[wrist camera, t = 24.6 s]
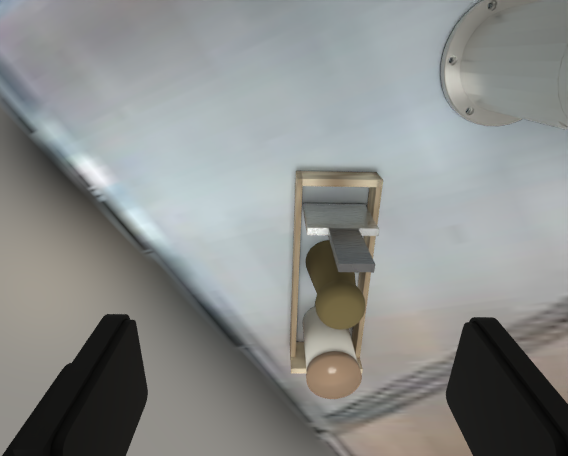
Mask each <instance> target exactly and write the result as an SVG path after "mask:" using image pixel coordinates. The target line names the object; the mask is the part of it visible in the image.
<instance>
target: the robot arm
mask: <svg viewBox="0 0 568 456" xmlns="http://www.w3.org/2000/svg"><path fill="white" fill-rule="evenodd" d="M488 4H490V8H489V9H488ZM449 58H451V59H452V61H451V62H450V63H449ZM441 83H442V89H443V92H444V94H445V97H446V99H447V101H448V103H449V104H450V106H451V107H452V109H453V110H454V111H455V112H456V113H457V114H458V115H460V116H461V117H463V118H464V119H466V120H468V121H470V122H473V123H476V124H480V125H484V126H502V125H508V124H512V123H514V122H517V121H520V120H522V119H525V120H529V121H533V122H537V123H542V124H546V125H550V126H554V127H558V128H562V129H566V130H568V0H482V1H480V2H479V3H477V4H476V5H475V6H474V7H472V8H471V9H470V10H469V11H468V12H467V13H466V14H465V15H464V16H463V17H462V19H461V20H460V21H459V22H458V24H457V25H456V26H455V28H454V30H453V31H452V33H451V35H450V37H449V39H448V41H447V44H446V46H445V49H444V52H443V57H442V62H441ZM467 108H468V111H467V112H466V109H467ZM147 395H148V390H147V383H146V378H145V372H144V366H143V360H142V355H141V349H140V343H139V337H138V332H137V326H136V322H135V320H130V318H129V316H128V315H126V314H107V315H105V316H104V317H103V318H102V319H101V321H100V322H99V324H98V325H97V327H96V328H95V330H94V331H93V333H92V334H91V336H90V337H89V338H88V340H87V341H86V343H85V344H84V346H83V347H82V349H81V350H80V352H79V353H78V355H77V356H76V358H75V359H74V361H73V362H72V363H69V364H68V365H66V366H65V367H64V368H63V369H62V371H61V372H60V373H59V375H58V376H57V378H56V379H55V381H54V382H53V384H52V385H51V386H50V388H49V389H48V391H47V392H46V393H45V395H44V397H43V398H42V399H41V401H40V402H39V404H38V405H37V406H36V408H35V409H34V411H33V412H32V414H31V415H30V417H29V418H28V419H27V421H26V422H25V424H24V425H23V426H22V428H21V429H20V431H19V432H18V434H17V435H16V436H15V438H14V439H13V441H12V442H11V444H10V445H9V447H8V448H7V450H6V451H5V452H4V454H3V455H2V456H126V453H127V451H128V448H129V446H130V443H131V440H132V438H133V435H134V433H135V430H136V427H137V425H138V422H139V420H140V417H141V415H142V412H143V409H144V407H145V404H146V401H147ZM446 399H447V403H448V405H449V407H450V409H451V411H452V414H453V416H454V418H455V420H456V422H457V424H458V426H459V428H460V430H461V432H462V434H463V436H464V438H465V440H466V442H467V444H468V446H469V448H470V450H471V452H472V454H473V456H568V404H567V403H566V402H565V400H564V399H563V398H562V397H561V396H560V394H559V393H558V392H557V391H556V390H555V388H554V387H553V386H552V385H551V384H550V382H549V381H548V380H547V379H546V378H545V376H544V375H543V374H542V373H541V372H540V371H539V369H538V368H537V367H536V366H535V365H534V363H533V362H532V361H531V360H530V359H529V357H528V356H527V355H526V354H525V353H524V351H523V350H522V349H521V348H520V347H519V345H518V344H517V343H516V342H515V341H514V339H513V338H512V337H511V336H510V335H509V333H508V332H507V331H506V330H505V329H504V328H503V326H502V325H501V324H500V323H499V322H498V320H496V319H495V318H489V317H474V318H471V319H470V321H469V322H467V323H465V324H464V326H463V330H462V334H461V337H460V341H459V345H458V349H457V352H456V356H455V360H454V364H453V367H452V371H451V375H450V379H449V382H448V386H447V390H446Z"/></svg>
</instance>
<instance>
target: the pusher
mask: <svg viewBox="0 0 568 456" xmlns="http://www.w3.org/2000/svg"><path fill="white" fill-rule="evenodd" d="M303 212H304V218H305V224H306V230H307V235H328V237H329V241H330V244H331V248H332V251H333V255H334V258H335V262H336V266H337V269H338V272H374V269H375V263H374V261H373V258H372V256H371V254H370V252H369V250H368V248H367V246H366V244H365V241H364V239H363V237H362V236H378V234H379V227H378V226H377V224H376V222H375V221H374V219H373V217H372V216H371V214H370V212H369V211H368V209H367V207H366V206H365V204H314V203H303Z"/></svg>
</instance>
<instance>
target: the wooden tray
mask: <svg viewBox="0 0 568 456" xmlns="http://www.w3.org/2000/svg"><path fill="white" fill-rule="evenodd" d="M382 185H383V179H382V178H381V177H380V176H379V175H378V174H377V172H321V171H296V183H295V212H294V242H293V272H292V301H291V331H290V360H291V373H306V357H305V346H304V342H296V327H297V303H298V279H299V255H300V231H301V207H302V186H333V187H369V195H368V204H367V209H368V211H369V212H370V214H371V216H372V217H373V219H374V221H375V222H376V224H377V222H378V215H379V207H380V200H381V192H382ZM375 238H376V236H364V238H363V239H364V241H365V244H366V246H367V248H368V250H369V252H370V254H371V256H372V258H373V253H374V245H375ZM370 275H371V272H359V280H358V288H359V289H360V290H361V292H362V294H363V296H364V298H365V305H366V306H367V298H368V291H369V283H370ZM365 313H366V309H365ZM365 313H364V316H363V317H362V319H361V320H360V321H359V323H357V324H356V325H355V326H353V331H352V343H353V347H354V351H355V355H356V359H357V362H358V364H359V367H360V370H361V374H362V370H363V368H362V365H361V361H360V351H361V344H362V336H363V328H364V321H365Z"/></svg>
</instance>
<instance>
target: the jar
mask: <svg viewBox="0 0 568 456" xmlns="http://www.w3.org/2000/svg"><path fill="white" fill-rule="evenodd" d="M302 323H303V335H304V346H305V357H306V378H307V385H308V387H309V389H310V390H311V391H312V392H313V393H314V394H316V395H318V396H320V397H322V398H327V399H338V398H343V397H345V396H348V395H350V394H351V393H353V392H354V391H355V390H356V389H357V388H358V387H359V385H360V383H361V379H362V375H361V370H360V367H359V364H358V362H357V359H356V355H355V351H354V347H353V343H352V339H351V335H350V332H349V328H348V329H343V330H338V329H333V328H331V327H328V326H326V325H325V324H324V323H323V322H322V321H321V320H320V318H319V317H318V315H317V313H316V307H313V308H311V309H310V310H308V311H307V313H306V314H305V315H304V317H303V322H302Z"/></svg>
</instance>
